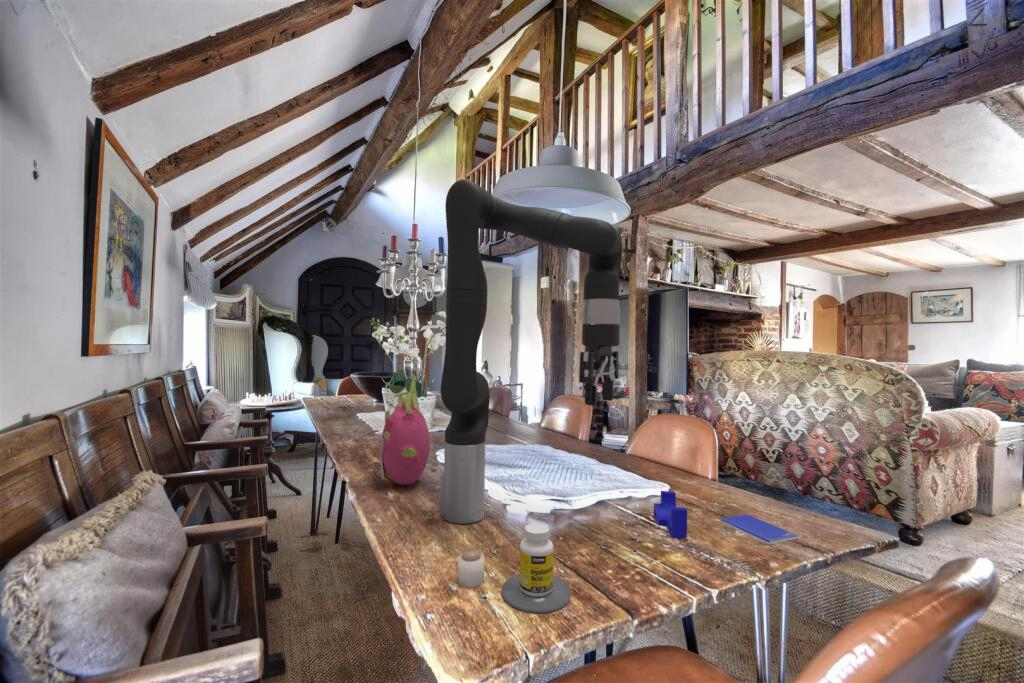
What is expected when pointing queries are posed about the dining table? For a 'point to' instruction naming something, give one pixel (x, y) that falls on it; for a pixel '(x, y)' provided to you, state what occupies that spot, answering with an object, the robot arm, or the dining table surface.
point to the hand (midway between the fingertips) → (599, 402)
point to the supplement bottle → (536, 561)
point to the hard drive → (759, 529)
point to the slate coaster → (536, 604)
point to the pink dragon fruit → (404, 440)
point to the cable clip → (671, 515)
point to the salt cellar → (470, 568)
